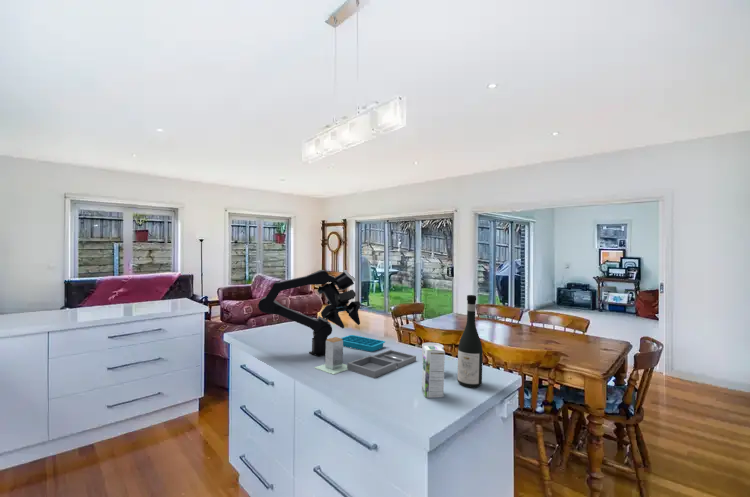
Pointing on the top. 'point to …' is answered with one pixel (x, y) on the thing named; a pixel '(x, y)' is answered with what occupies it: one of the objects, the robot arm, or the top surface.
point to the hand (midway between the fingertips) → (351, 326)
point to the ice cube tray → (362, 343)
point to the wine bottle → (470, 350)
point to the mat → (333, 372)
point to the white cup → (430, 344)
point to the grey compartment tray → (380, 363)
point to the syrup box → (433, 371)
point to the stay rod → (393, 358)
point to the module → (334, 353)
